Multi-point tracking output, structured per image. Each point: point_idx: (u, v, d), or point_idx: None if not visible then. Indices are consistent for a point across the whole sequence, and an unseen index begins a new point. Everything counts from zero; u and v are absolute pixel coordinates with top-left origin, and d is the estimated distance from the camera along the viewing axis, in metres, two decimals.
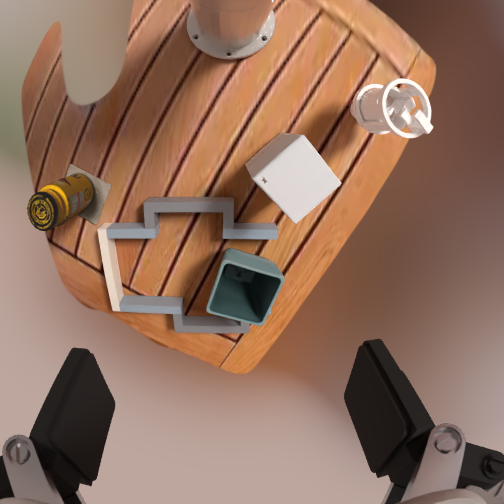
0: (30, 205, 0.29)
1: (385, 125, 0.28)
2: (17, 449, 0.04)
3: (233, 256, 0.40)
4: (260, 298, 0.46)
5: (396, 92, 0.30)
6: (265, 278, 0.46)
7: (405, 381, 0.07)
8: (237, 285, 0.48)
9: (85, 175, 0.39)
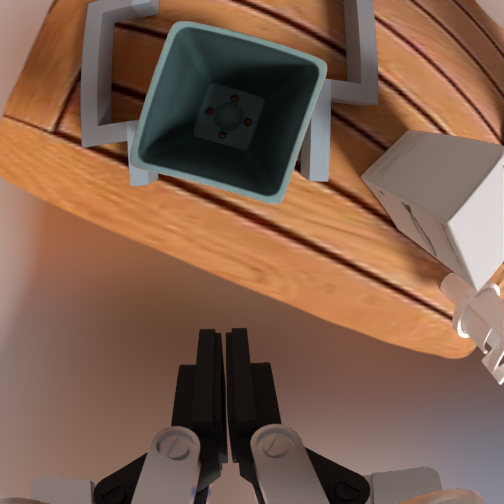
0: None
1: None
2: (171, 443, 0.06)
3: None
4: (178, 154, 0.19)
5: None
6: (222, 161, 0.20)
7: (249, 371, 0.08)
8: (191, 108, 0.20)
9: None
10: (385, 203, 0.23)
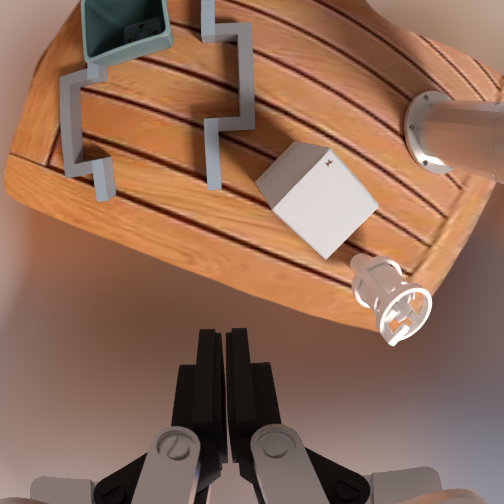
0: None
1: (388, 296, 0.28)
2: (171, 443, 0.06)
3: None
4: None
5: (403, 299, 0.33)
6: None
7: (249, 371, 0.08)
8: (118, 42, 0.25)
9: None
10: None
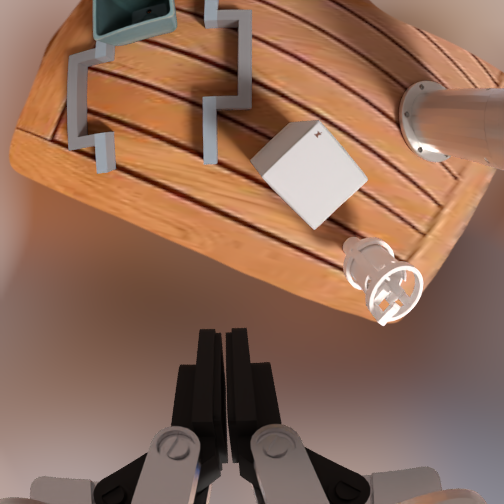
0: None
1: (378, 272, 0.29)
2: (171, 444, 0.06)
3: None
4: None
5: (395, 282, 0.33)
6: (151, 34, 0.25)
7: (249, 371, 0.08)
8: (126, 25, 0.25)
9: None
10: None
